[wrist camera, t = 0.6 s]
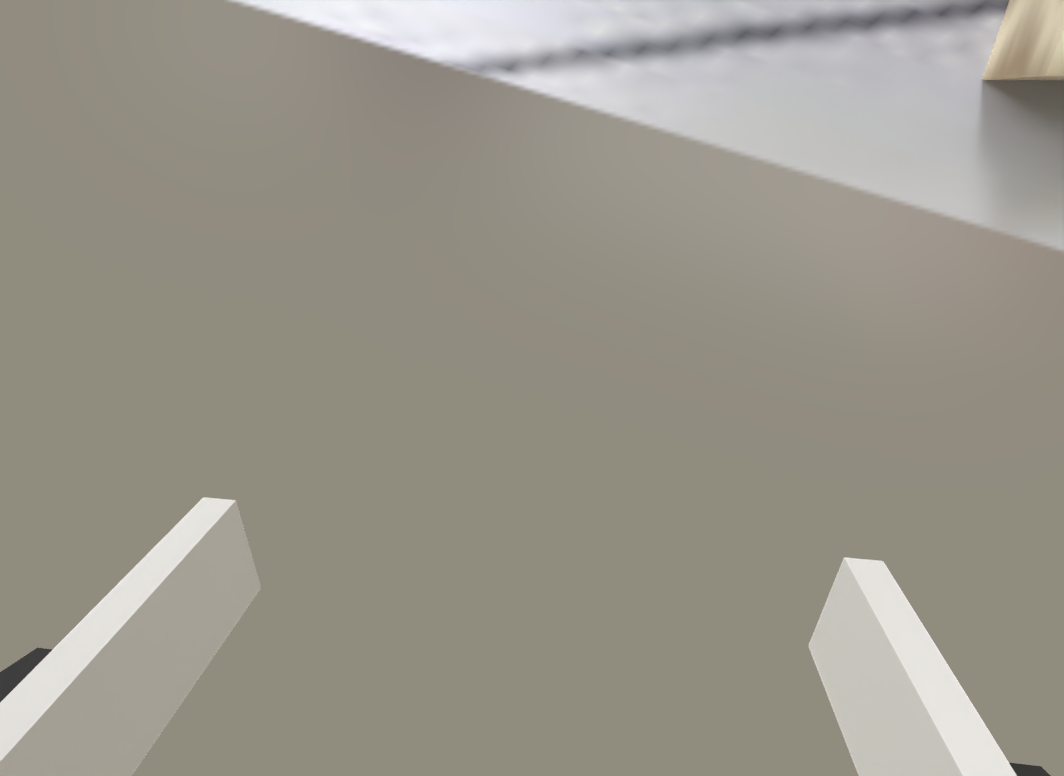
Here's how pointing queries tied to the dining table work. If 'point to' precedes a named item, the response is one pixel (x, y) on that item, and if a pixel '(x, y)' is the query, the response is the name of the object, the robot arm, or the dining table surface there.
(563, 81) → the dining table surface
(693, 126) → the dining table surface
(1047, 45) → the tower base slab
